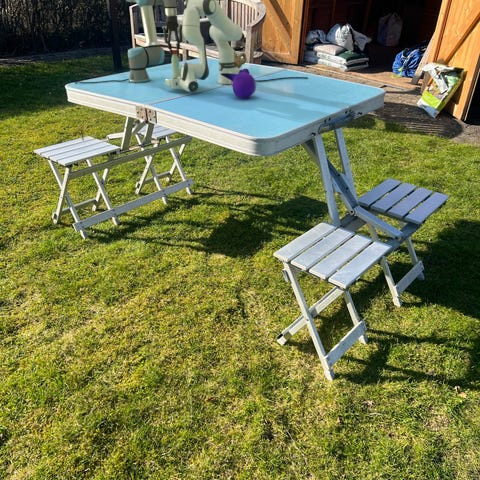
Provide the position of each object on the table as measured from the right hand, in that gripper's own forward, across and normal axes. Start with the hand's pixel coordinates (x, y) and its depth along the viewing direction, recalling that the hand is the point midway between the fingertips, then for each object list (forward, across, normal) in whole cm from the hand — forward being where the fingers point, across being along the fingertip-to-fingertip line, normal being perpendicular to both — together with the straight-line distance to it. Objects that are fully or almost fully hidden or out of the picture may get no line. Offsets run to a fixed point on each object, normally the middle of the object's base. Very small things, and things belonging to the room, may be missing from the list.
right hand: (176, 79), depth 311 cm
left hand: (-1, 0, -16) cm, 17 cm away
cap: (-1, 0, -19) cm, 19 cm away
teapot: (+38, -67, +6) cm, 78 cm away
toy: (-46, -25, +6) cm, 53 cm away
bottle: (-1, 0, +6) cm, 6 cm away
